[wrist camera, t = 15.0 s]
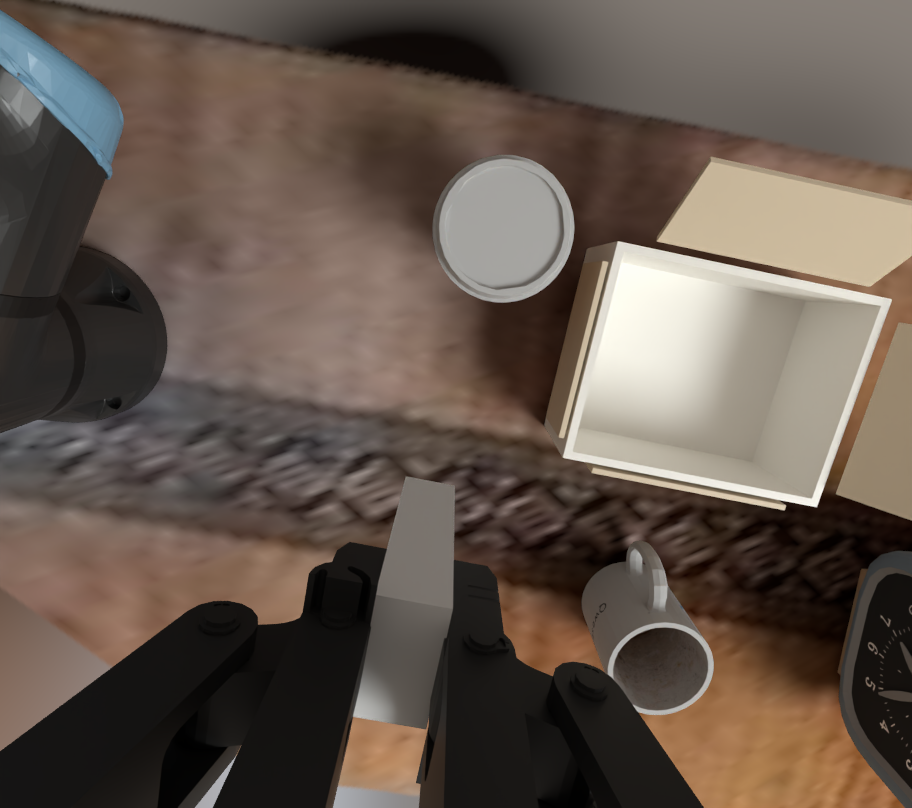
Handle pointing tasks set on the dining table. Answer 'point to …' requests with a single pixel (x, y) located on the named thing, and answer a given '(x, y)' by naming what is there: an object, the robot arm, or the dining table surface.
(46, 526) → the dining table surface
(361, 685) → the robot arm
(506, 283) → the disposable coffee cup
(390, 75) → the dining table surface
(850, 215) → the long flap
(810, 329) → the carton
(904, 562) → the alarm clock
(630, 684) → the mug
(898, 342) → the short flap
